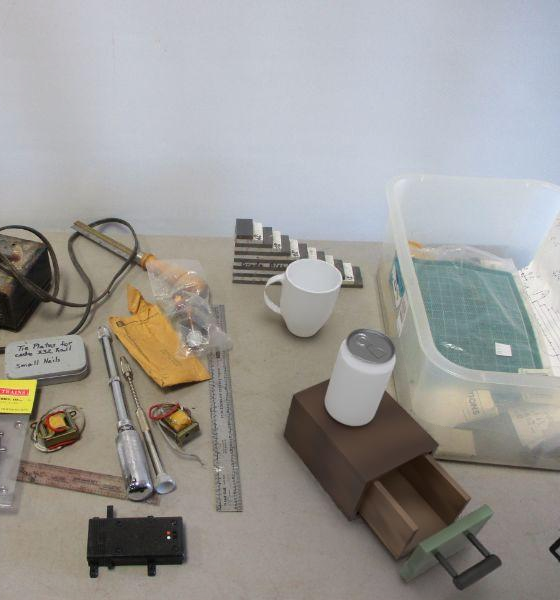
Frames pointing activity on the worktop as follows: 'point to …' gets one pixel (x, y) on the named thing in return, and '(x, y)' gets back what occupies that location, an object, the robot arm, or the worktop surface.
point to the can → (360, 376)
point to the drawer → (426, 520)
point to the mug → (306, 295)
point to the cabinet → (352, 445)
